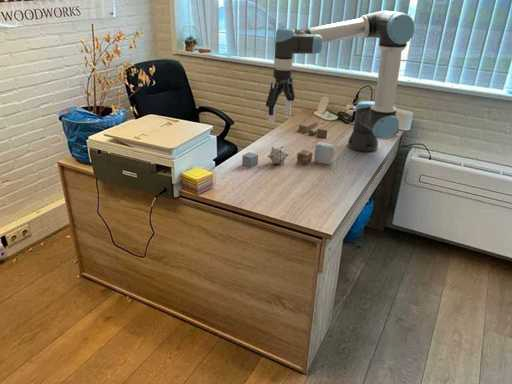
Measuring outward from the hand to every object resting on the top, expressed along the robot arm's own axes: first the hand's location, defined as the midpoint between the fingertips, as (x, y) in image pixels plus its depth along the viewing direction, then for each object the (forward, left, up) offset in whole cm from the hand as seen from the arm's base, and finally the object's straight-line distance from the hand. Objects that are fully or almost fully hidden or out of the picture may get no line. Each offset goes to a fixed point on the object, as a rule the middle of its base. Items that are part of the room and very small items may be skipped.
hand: (279, 118), depth 188 cm
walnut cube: (-9, -9, -22) cm, 25 cm away
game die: (0, 0, -22) cm, 22 cm away
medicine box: (-16, -15, -22) cm, 31 cm away
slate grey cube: (+9, +9, -22) cm, 25 cm away
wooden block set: (+5, -53, -22) cm, 58 cm away
